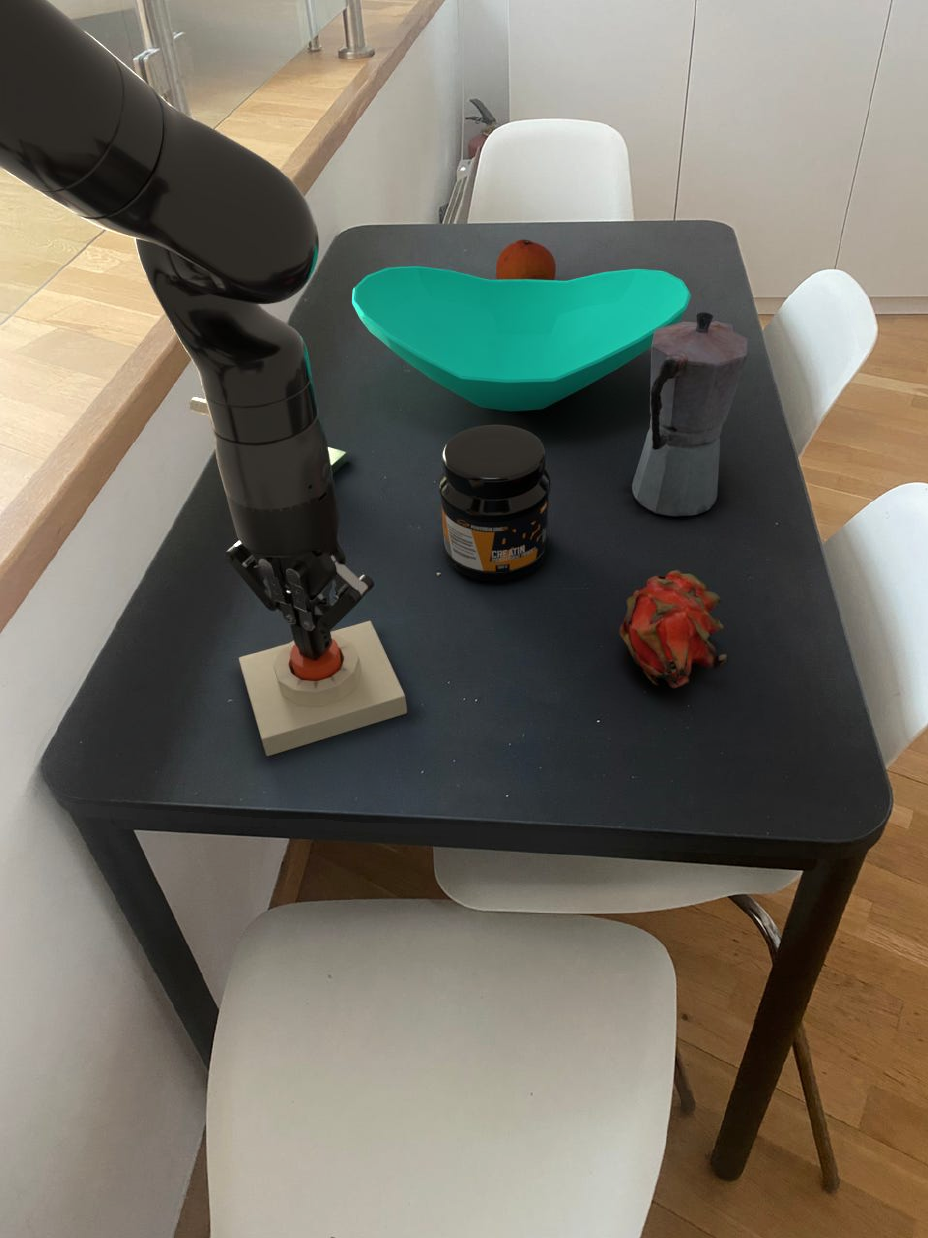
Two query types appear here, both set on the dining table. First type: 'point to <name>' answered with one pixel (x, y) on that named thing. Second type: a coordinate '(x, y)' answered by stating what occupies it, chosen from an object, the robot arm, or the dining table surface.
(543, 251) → the fruit
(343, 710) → the button base
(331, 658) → the button
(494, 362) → the table top decor
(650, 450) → the moka pot
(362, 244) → the dining table surface
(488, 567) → the supplement container
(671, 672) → the dragon fruit
